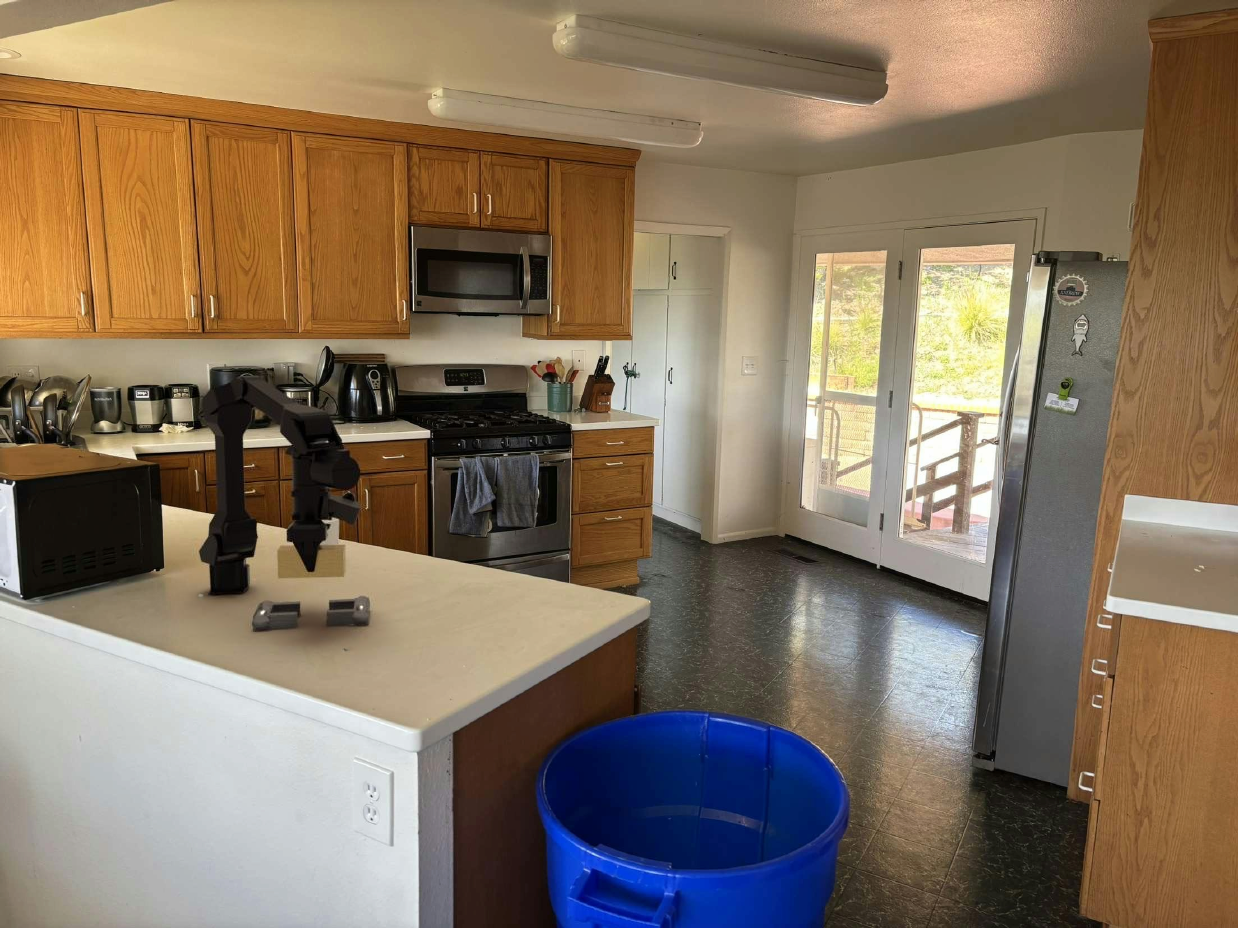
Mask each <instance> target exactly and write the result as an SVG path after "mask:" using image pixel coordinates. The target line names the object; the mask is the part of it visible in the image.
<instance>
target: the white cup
mask: <svg viewBox="0 0 1238 928" xmlns="http://www.w3.org/2000/svg"><path fill="white" fill-rule="evenodd" d="M322 521H323V522H324V523H325V524H331V525H330V528H329V529H328V530H327V534H328V536H327V538H326V541H323V542H322V543H320V545H339V543H340V542H339V541H340V540H339V539H340V537H339V536H340V535H339V534H340V520H339V519H336V518H332V520H322Z"/></svg>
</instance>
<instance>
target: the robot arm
mask: <svg viewBox="0 0 1238 928" xmlns="http://www.w3.org/2000/svg"><path fill="white" fill-rule="evenodd" d="M201 408H202V412H203V417H204V422H205V423H206V425H207V427H208V428H209V429H210V431H211V433H213V435H214V449H215V476H216V501H217V503H216V505H217V507H216V508H217V509H216V512H215V513H214V515H213V516H212V519H211V520H210V522H209V524H208V534H207V535H208V536H207V537H206V539H205V541H204V542H203V544H202V545H201V547H200V549H199V550H198V554H199V559H200V561H201V563H205V564H207V565H209V566H208V569H209V590H208V593H207V594H208V595H213V596H214V595H232V594H244V593H245V592H246V590H247V589H248V588H249V586H250V585H251V572H250V564H249V563H247V559H249V558H254V557H255V553H256V548H257V542H258V539H259V536H258V520H257V519H256V518H255V517H252V516H251V515H250V514H249V512H248V511H247V509H246V508H247V507H246V488H245V486H246V485H245V483H246V482H245V459H244V458H245V457H244V456H245V455H244V454H245V453H244V435H245V433H246V431H247V430H248V428H249V426H250V424H251V423H252V419H253V418H252V416H253V410H255V409H257V410H258V411H259V412H262V414H264V415H266V416H267V417H269V418H270V419H271V420H272V421H274V422H275V423H277V425H279V432H280V434H281V435H282V436H283V437H284V438H285V439H286V441H287V442H288V443H289V444H290V446H289V447H288V448H286V450H285V452H284V453H285V455H287V456H291V468H292V469H291V470H292V490H291V493H290V494H291V495H290V496H291V498H292V501H293V502H292V507H293V508H292V513H291V521H293V522H291V524H289V525H288V527H287V529H286V532H285V533H286V542H287V543H292V544H293V545H294V546H295V548H296V550H297V552H298V554H299V556H300V558H301V560H302V562H303V564H304V566H305V568H306V570H307V571H308V572H314V570H315V565H316V559H317V553H318V548H319V545H320V543H322V542H323V541H326V538H327V536H328V534H327V530H328V529H329V528H330V525H331V524H325V523H324V522H323V521H322V520H332V518H336V519H339V521H342V522H345V523H346V524H349V525H352V526H353V525H356V522H357V519H358V517H359V514H360V512H361V509H362V503H361V502H360V501H356V495H355V493H353V492H350V491H349V490H351V489H353V488H355V486H356V485H357V484H358V482H359V480H360V476H361V468H360V466H359V463H358V461H357V460H356V459H354V458H353V457H351V451H350V449H346V448H345V446H344V444H343V439H342V437H341V436H340V435H339V433H338V431H337V429H336V426H335V424H334V422H333V419H332V417H331V415H330V414H329V413H328V412H327V411H325V410H323V409H320V408H317V407H315V406H310V405H304V404H301V403H298V402H296V400H294V399H292V398H290V396H288V395H286V394H285V393H283V392H282V391H281V390H279V389H278V388H276V387H275V386H273V385H272V384H270V383H269V382H267V380H266V378H264V377H262V376H260V375H242V376H241V375H239V376H237V377H235V378H233V380H231V381H229V382H227V383H225V384H222V385H219V386H217V387H214V388H213V389H209V390H208V391H207V393H206V394H204V396H203V397H202V400H201ZM331 489H333V490H334V489H336V490H339V491H346V492H344V493H343V494H342V495H341V496H340V495H335V494H331Z"/></svg>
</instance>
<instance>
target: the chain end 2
mask: <svg viewBox="0 0 1238 928" xmlns="http://www.w3.org/2000/svg"><path fill="white" fill-rule="evenodd" d="M370 606H371V601H370V597H367V596H366V595H360V596H358V597H355V598H344V599H339V598H338V599H329V600H328V609H327V610H326V626H327V627H339V626H341V627H342V626H368V625H369V620H370V608H371V607H370Z"/></svg>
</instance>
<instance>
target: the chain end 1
mask: <svg viewBox="0 0 1238 928" xmlns="http://www.w3.org/2000/svg"><path fill="white" fill-rule="evenodd" d="M301 603H302V602H301V601H282V602H281V601H280V602H279V601H278V602H277V601H276V602H275V601H272V600H269V599H268V600H266V599H265V600H263V601H262V602H259V603H258V604H257V607H256V609H255V612H254V613H253V615H252V621H251V626H252V629H253V630H252V631H253V632H262V631H263V632H264V631H269V630H281V629H282V630H283V629H297V628H298V618H300V617H301V616H302V611H301V610H302V607H301Z"/></svg>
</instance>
